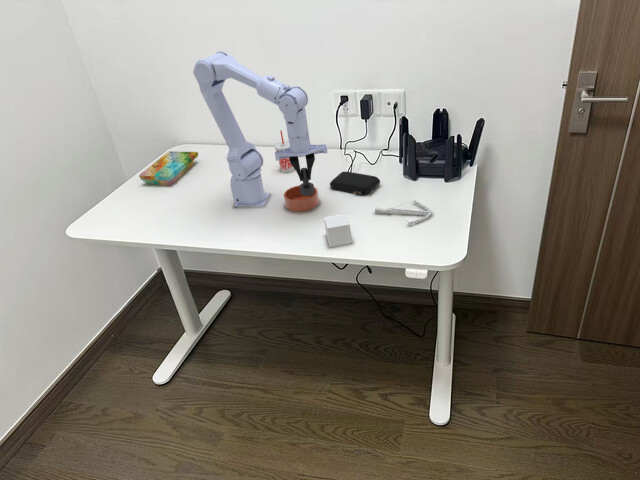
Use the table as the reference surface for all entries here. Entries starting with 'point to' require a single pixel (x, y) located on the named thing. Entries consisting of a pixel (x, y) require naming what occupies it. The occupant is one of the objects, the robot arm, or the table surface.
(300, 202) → the pot
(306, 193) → the dark grey bolt
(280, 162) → the beverage cup
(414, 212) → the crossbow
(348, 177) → the carrying case
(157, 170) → the puzzle game
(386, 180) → the table surface
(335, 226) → the white cube
